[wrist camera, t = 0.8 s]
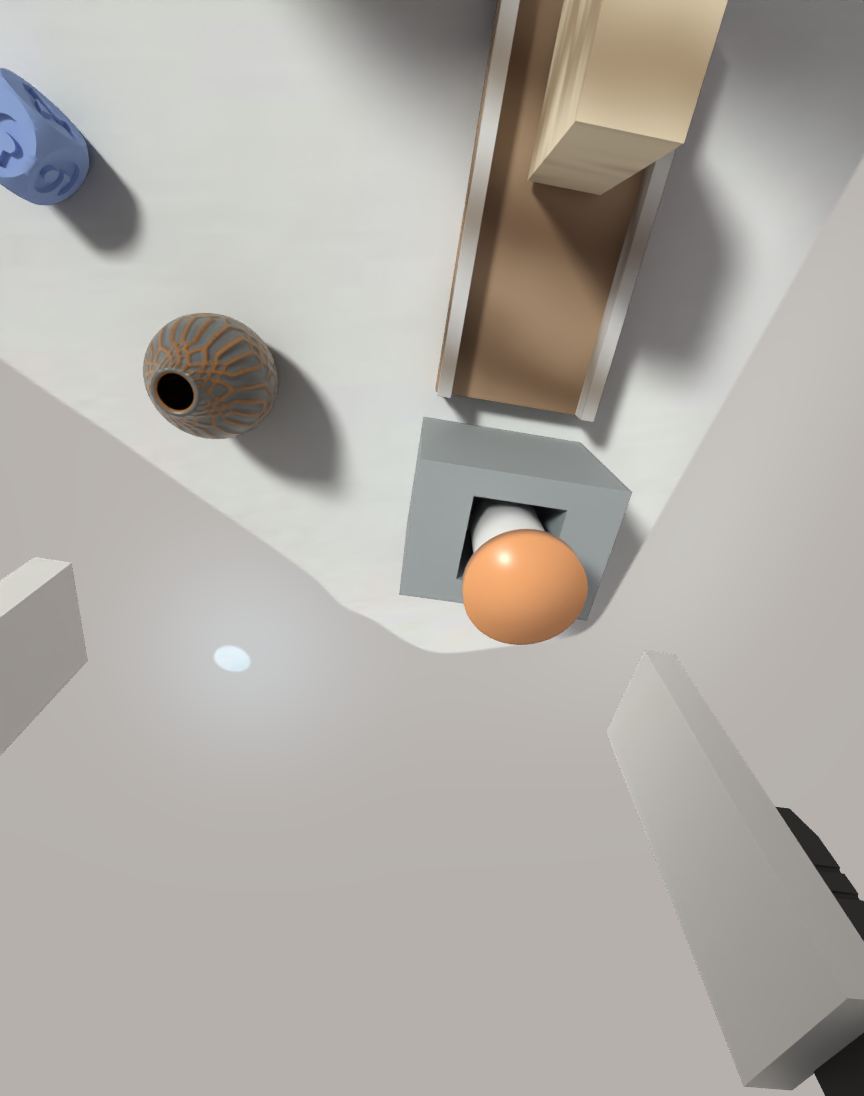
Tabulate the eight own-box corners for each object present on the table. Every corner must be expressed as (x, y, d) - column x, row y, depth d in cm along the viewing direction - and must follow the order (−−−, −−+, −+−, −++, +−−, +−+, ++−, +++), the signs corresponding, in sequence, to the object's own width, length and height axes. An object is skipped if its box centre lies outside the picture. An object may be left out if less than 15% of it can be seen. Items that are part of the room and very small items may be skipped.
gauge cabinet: (423, 416, 34) (420, 458, 25) (589, 444, 35) (643, 494, 26) (407, 524, 38) (399, 594, 29) (558, 546, 38) (596, 621, 30)
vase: (306, 349, 32) (265, 365, 24) (265, 442, 35) (217, 483, 27) (202, 288, 31) (123, 285, 23) (168, 390, 33) (86, 417, 26)
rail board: (503, -33, 25) (511, -74, 22) (698, 12, 25) (729, -23, 23) (435, 387, 33) (435, 395, 31) (582, 412, 34) (595, 422, 31)
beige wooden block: (563, 0, 24) (644, -182, 15) (645, 19, 24) (773, -148, 15) (527, 180, 27) (575, 120, 18) (600, 195, 27) (683, 143, 18)
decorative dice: (37, 84, 27) (-25, 51, 23) (103, 156, 28) (54, 135, 24) (-2, 146, 28) (-66, 123, 24) (63, 212, 29) (11, 199, 26)
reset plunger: (465, 471, 29) (476, 529, 21) (561, 486, 29) (604, 548, 22) (448, 558, 31) (453, 636, 24) (537, 571, 31) (568, 651, 24)
